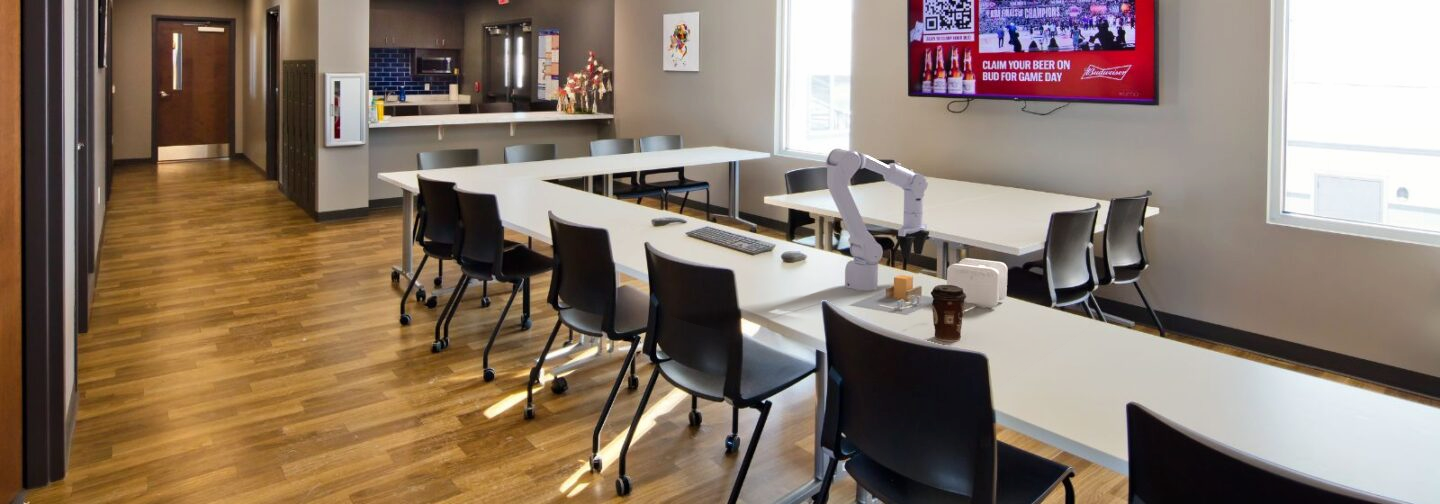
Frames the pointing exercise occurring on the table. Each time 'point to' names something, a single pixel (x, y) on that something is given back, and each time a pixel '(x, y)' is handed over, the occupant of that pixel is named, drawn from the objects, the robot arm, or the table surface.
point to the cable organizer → (979, 281)
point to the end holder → (915, 291)
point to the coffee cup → (948, 312)
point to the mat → (894, 303)
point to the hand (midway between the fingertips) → (912, 256)
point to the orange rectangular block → (902, 286)
